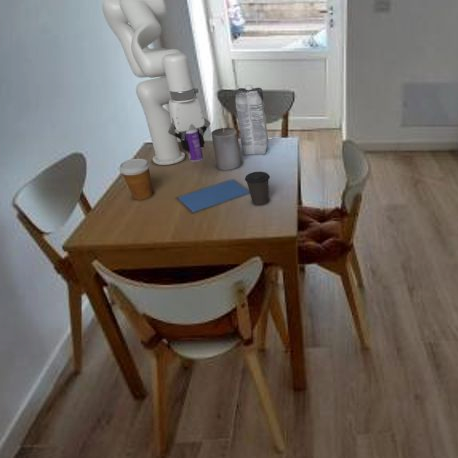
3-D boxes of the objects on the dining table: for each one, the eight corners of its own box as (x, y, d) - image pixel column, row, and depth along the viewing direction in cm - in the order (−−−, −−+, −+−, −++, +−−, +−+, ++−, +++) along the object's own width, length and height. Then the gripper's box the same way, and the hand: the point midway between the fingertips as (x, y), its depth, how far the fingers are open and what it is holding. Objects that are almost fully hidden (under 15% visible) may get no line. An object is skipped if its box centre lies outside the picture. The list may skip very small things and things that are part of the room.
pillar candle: (224, 159, 175) (218, 123, 167) (246, 161, 173) (241, 125, 165) (212, 169, 167) (205, 132, 159) (235, 171, 165) (229, 134, 157)
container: (199, 162, 148) (190, 119, 139) (187, 161, 148) (177, 118, 140) (205, 156, 151) (197, 115, 143) (193, 156, 152) (184, 114, 144)
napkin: (177, 198, 148) (177, 197, 148) (232, 180, 159) (232, 179, 159) (193, 212, 139) (192, 211, 139) (250, 192, 150) (249, 191, 150)
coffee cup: (265, 209, 140) (261, 181, 135) (243, 205, 143) (239, 178, 137) (276, 197, 147) (273, 171, 141) (255, 194, 149) (252, 167, 144)
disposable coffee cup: (122, 199, 148) (111, 167, 141) (141, 187, 155) (132, 156, 149) (144, 203, 145) (134, 171, 138) (163, 191, 152) (154, 159, 146)
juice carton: (267, 155, 178) (259, 89, 163) (242, 156, 178) (232, 89, 163) (269, 147, 185) (262, 83, 170) (245, 147, 185) (236, 83, 170)
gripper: (202, 87, 145) (212, 139, 155) (152, 97, 136) (165, 151, 146) (212, 92, 140) (221, 145, 150) (160, 102, 131) (174, 158, 141)
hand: (194, 147), depth 148 cm, fingers closed on container, 4 cm apart
